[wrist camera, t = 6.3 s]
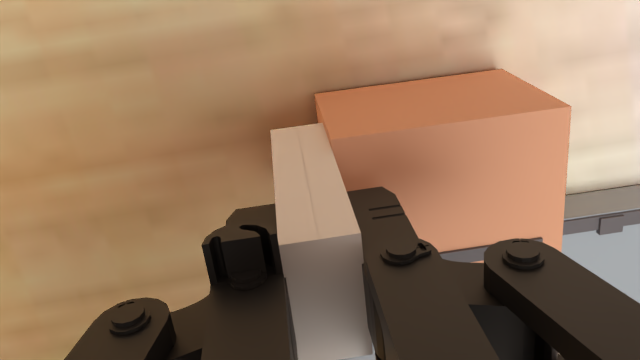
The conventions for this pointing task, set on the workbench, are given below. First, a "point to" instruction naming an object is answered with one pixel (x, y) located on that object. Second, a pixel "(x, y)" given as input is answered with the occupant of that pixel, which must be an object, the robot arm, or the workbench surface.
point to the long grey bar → (601, 238)
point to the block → (457, 156)
